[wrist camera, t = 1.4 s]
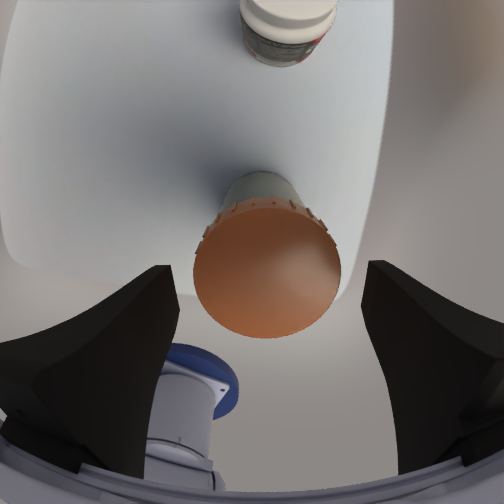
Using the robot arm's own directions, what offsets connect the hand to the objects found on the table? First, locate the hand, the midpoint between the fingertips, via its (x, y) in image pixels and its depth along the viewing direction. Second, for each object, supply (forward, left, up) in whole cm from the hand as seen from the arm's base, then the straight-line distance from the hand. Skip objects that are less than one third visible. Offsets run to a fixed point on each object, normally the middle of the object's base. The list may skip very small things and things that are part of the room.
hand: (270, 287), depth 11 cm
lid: (0, 0, -1) cm, 1 cm away
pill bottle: (+11, +4, -11) cm, 16 cm away
